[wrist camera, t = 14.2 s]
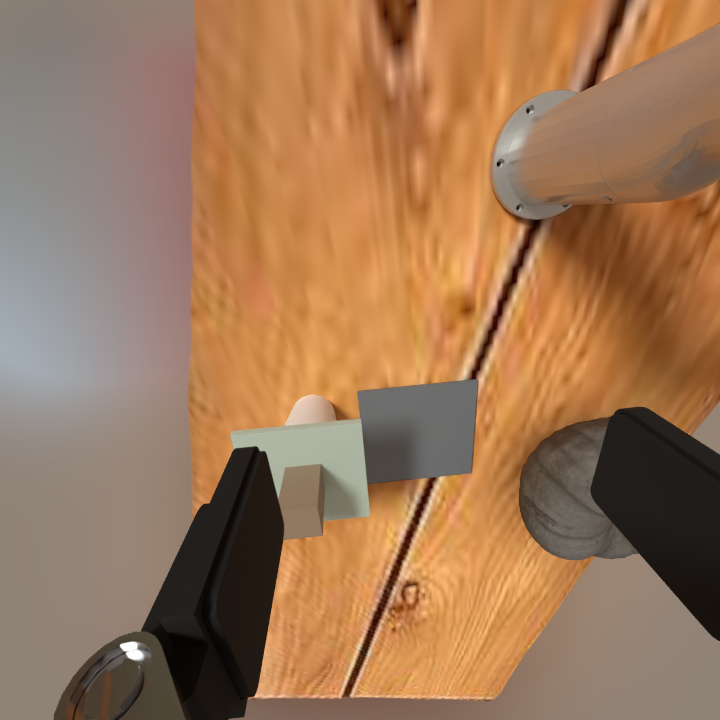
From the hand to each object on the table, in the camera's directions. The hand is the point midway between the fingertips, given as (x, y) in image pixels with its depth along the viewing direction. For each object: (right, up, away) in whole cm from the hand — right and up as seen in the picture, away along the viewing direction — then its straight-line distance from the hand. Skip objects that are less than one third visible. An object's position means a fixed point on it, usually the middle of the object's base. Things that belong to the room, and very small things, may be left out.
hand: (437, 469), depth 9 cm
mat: (+7, -9, +44) cm, 46 cm away
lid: (-8, -10, +30) cm, 33 cm away
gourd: (+35, -13, +48) cm, 61 cm away
